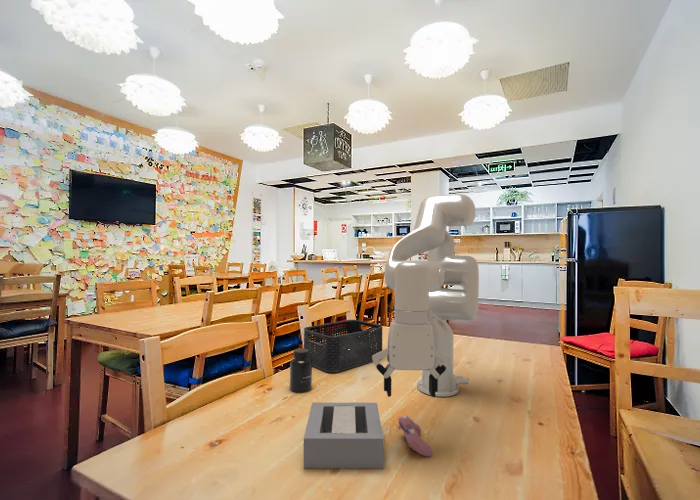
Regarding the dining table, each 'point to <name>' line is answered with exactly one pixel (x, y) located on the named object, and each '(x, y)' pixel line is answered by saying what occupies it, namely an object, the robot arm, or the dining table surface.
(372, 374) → the dining table surface
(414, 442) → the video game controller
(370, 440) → the grey square box
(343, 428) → the beige insert in tray
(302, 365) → the supplement bottle
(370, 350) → the storage bin
